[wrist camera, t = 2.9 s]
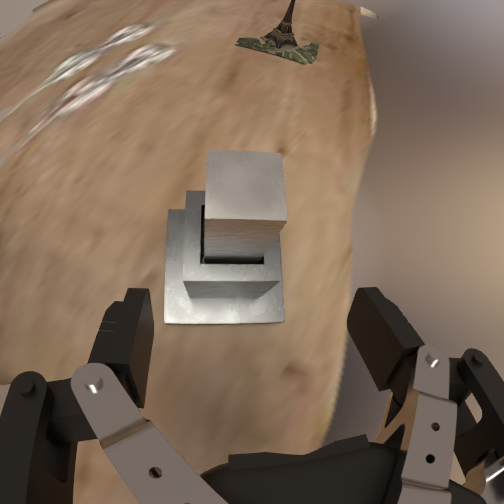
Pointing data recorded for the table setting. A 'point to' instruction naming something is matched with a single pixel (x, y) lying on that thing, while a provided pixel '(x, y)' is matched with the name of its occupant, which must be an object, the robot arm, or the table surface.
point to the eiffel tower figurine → (283, 42)
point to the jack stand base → (216, 277)
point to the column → (242, 205)
